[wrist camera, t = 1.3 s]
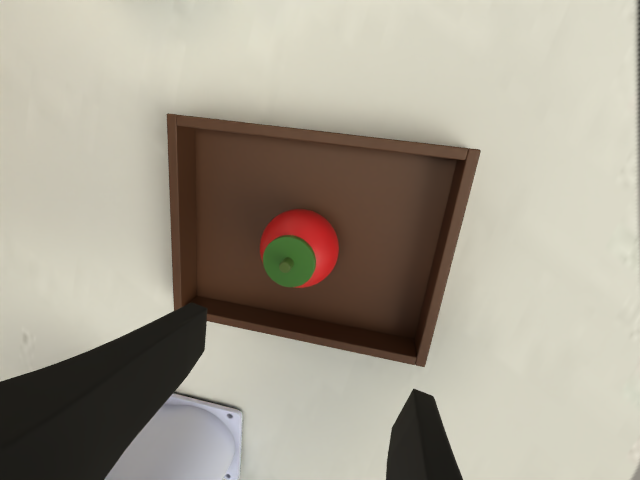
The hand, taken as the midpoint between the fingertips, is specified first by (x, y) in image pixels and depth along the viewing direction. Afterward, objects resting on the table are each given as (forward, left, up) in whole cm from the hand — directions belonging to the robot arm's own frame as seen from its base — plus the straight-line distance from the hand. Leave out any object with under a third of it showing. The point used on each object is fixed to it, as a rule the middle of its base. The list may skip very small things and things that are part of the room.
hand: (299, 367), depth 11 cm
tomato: (-2, +1, -11) cm, 11 cm away
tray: (-2, +1, -11) cm, 12 cm away
